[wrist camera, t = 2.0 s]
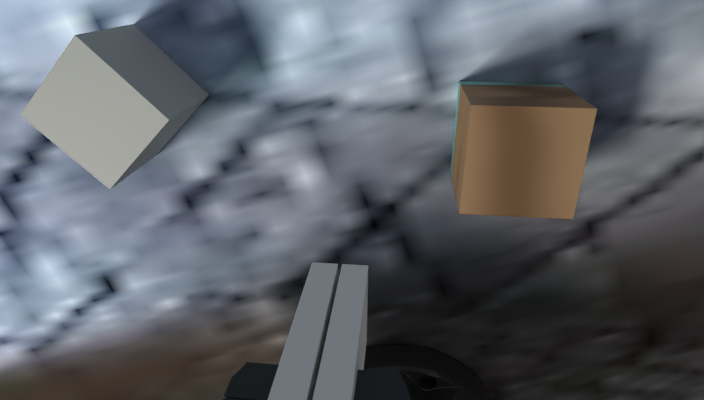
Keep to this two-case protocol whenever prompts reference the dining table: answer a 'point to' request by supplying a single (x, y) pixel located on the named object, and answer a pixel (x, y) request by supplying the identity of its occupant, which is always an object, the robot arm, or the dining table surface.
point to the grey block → (113, 102)
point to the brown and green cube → (519, 149)
